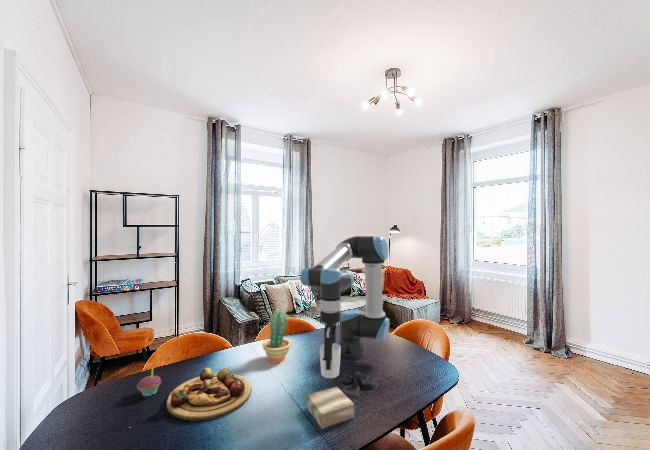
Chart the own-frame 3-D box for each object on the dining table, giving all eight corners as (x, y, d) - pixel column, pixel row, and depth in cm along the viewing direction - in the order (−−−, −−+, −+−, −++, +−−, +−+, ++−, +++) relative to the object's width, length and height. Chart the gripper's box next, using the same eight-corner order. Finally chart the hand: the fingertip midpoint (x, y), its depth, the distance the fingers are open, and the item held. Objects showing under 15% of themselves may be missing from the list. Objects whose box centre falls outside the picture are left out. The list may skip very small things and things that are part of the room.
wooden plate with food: (164, 434, 96) (165, 409, 96) (167, 387, 124) (167, 367, 125) (259, 409, 111) (260, 387, 111) (242, 371, 139) (243, 354, 139)
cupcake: (165, 390, 121) (166, 362, 122) (147, 402, 113) (147, 371, 114) (150, 387, 124) (151, 359, 124) (131, 398, 116) (132, 368, 116)
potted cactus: (296, 360, 150) (297, 312, 150) (269, 368, 141) (269, 317, 141) (283, 350, 163) (284, 305, 163) (257, 357, 154) (257, 309, 154)
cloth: (343, 402, 115) (343, 386, 115) (330, 378, 133) (330, 365, 133) (393, 394, 120) (394, 379, 121) (375, 373, 138) (375, 360, 138)
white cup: (338, 380, 103) (339, 352, 103) (317, 377, 104) (317, 350, 105) (342, 369, 111) (342, 343, 111) (322, 367, 112) (322, 341, 112)
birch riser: (307, 408, 110) (307, 394, 110) (336, 399, 116) (336, 386, 116) (322, 429, 99) (322, 414, 99) (354, 417, 104) (354, 404, 105)
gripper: (324, 303, 119) (324, 358, 118) (315, 318, 98) (315, 385, 98) (342, 303, 117) (342, 360, 117) (337, 319, 97) (336, 387, 97)
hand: (330, 371), depth 107 cm, fingers closed on white cup, 8 cm apart
